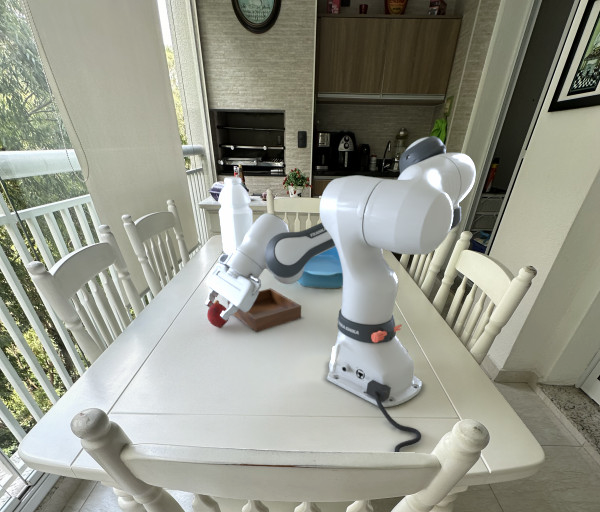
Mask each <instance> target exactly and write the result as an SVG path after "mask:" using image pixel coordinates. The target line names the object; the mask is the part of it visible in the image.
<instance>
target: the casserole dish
mask: <svg viewBox="0 0 600 512" xmlns="http://www.w3.org/2000/svg"><path fill="white" fill-rule="evenodd" d="M297 283H298V284H299V285H301V287H305V288H306V287H307V288H316V289H317V288H318V289H340V288H343V272H342V266H341V261H340V258H339V254H338V251H337V248H336V247H334V248H331V249H329V250H327V251H325V252H323V253H321V254H319V255H316V256H314V257H313V258H311V259H310V260H309V261H308V262H307V263H306V264H305V267H304V272H303V275H302V277H301V278H300V279H299V280H298V281H297Z"/></svg>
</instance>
